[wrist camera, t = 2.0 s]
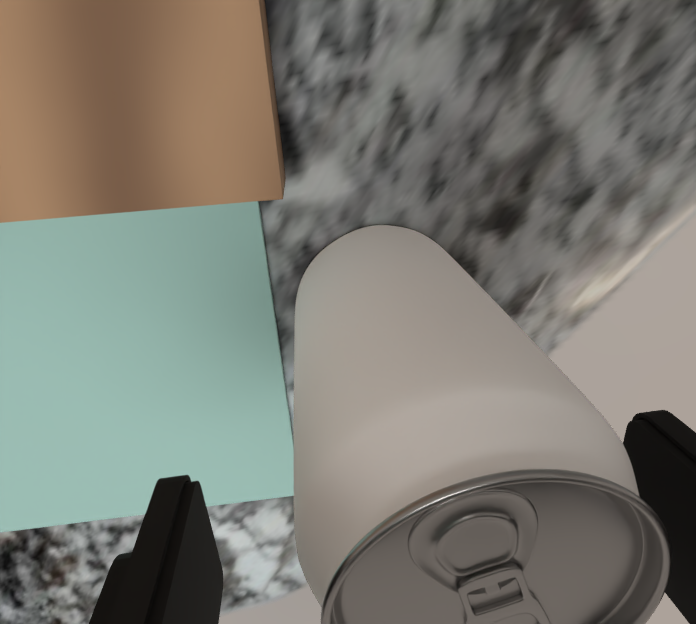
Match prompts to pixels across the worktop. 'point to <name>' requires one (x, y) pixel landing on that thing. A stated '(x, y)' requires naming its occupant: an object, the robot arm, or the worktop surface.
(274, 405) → the mat
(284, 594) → the worktop surface
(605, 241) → the worktop surface
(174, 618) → the robot arm
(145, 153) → the board
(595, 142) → the worktop surface
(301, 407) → the can
